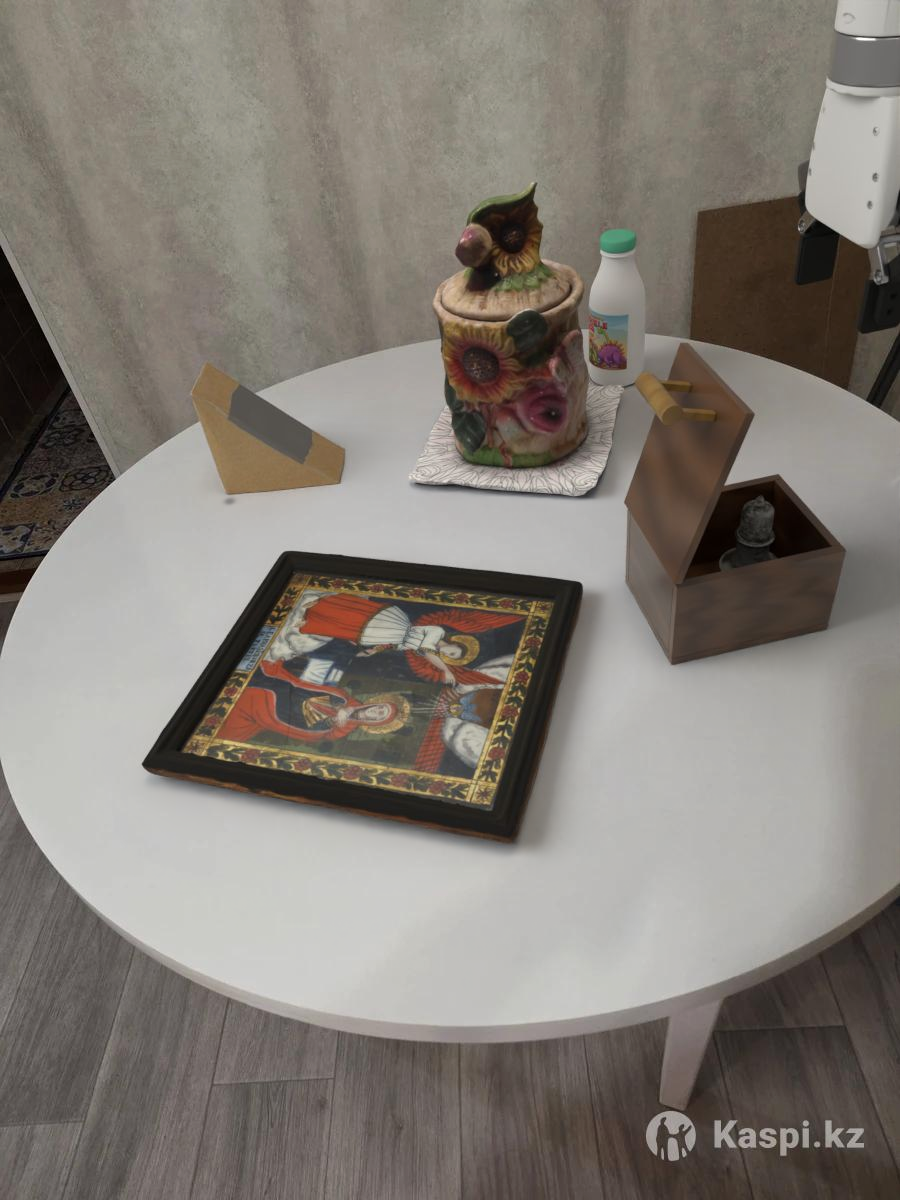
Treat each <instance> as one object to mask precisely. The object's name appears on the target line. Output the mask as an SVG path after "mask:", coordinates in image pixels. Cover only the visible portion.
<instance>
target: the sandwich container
mask: <svg viewBox="0 0 900 1200" xmlns="http://www.w3.org/2000/svg"><path fill="white" fill-rule="evenodd" d="M190 398H191V401H192V403H193V406H194V409H195V412H196V416H197V417H198V420H199V422H200V426H201V428H202V432H203V434H204V438H205V440H206V443H207V445H208V448H209V451H210V454H211V456H212V459H213V461H214V465H215V467H216V469H217V470H216V471H217V472H218V476H219V478H220V481H221V484H222V486H223V489H224V492H225V495H236V494H249V493H259V492H273V491H283V490H290V489H291V490H292V489H301V488H310V487H317V486H326V485H327V486H328V485H335V484H340V480H341V476H342V472H343V468H344V463H345V462H344V461H345V448H344V447H342V446H340V445H338V444H337V443H335V442H333V441H332V440H330V439H328V438H327V437H325V436H323V435H322V434H320V433H319V432H317V431H316V430H314V429H312V428H310V427H309V426H307V425H306V424H304V423H303V422H301V421H299V420H297V419H296V418H294V417H293V416H291V415H290V414H288V413H286V412H285V411H283V410H282V409H280V407H279V408H278V407H277V406H276V405H274V404H272V403H271V402H269V401H267V400H266V399H265V398H263V397H262V396H259V395H258V394H257V393H255V392H253V391H252V390H250V389H249V388H247V387H246V386H244V385H243V384H241V383H239V381H237V380H235V379H233V378H232V377H230V376H229V375H227V374H226V373H224V372H223V371H221V370H219V369H218V368H217V367H215V366H213V365H212V364H211V363H209V362H208V361H205V362H204V364H203V365H202V368H201V370H200V373H199V375H198V377H197V378H196V381H195V383H194V384H193V387H192V389H191V391H190Z"/></svg>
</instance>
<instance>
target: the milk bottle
mask: <svg viewBox="0 0 900 1200" xmlns="http://www.w3.org/2000/svg"><path fill="white" fill-rule="evenodd" d="M636 246H637V234H636V232H635V231H633V230H631V229H628V228H616V229H610V230H607V231H604V232H603V233H602V234H601V235H600V238H599V247H600V248H599V249H600V251H599V253H600V255H601V261H600V265H599V268H598V271H597V273H596V275H595V278H594V280H593V282H592V285H591V288H590V291H589V292H590V293H589V297H588V373H589V378H590V379H591V381H593V383H595V384H596V385H598V386H606V385H622V387H627V386H629V385H633V384H635V382H636V379H637V377H638V376H639V375H640V374H642V373H644V369H645V347H646V346H645V345H646V318H647V317H646V313H647V304H646V303H647V301H646V300H647V299H646V296H647V295H646V290H645V289H646V288H645V285H644V282H643V279H642V276H641V275H640V273H639V270H638V267H637V263H636V260H635V253H636V251H637V248H636Z"/></svg>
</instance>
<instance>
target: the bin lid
mask: <svg viewBox="0 0 900 1200" xmlns="http://www.w3.org/2000/svg"><path fill="white" fill-rule="evenodd" d="M673 360H674V361H673V363H672V365H671V368H670V372H669V374H668V377H667V379H659V378H658V377H657V375H655V373H654V372H652V371H643V373H642V374H640V375H639V376H638V377H637V379H636V382H635V383H634V384H635V388H636V390H637V391H638V392H639V394H640V395H641V396H642V397H643V399H644V400H645V401H646V403H647V404H648V405H649V407H650V408H651V409H652V411H653V412H654V413H655V414H654V417H653V419H652V422H651V424H650V427H649V430H648V433H647V436H646V439H645V441H644V444H643V448H642V450H641V453H640V456H639V458H638V460H637V464H636V467H635V470H634V472H633V475H632V478H631V481H630V484H629V487H628V490H627V492H626V496H625V498H624V501H623V503H624V505H625V507H626V509H627V508H628V510H629V512H630V513H631V515H632V516H633V518H634V520H635V521H636V523H637V525H638V526H639V528H640V530H641V531H642V533H643V534H644V536H645V538H646V539H647V541H648V543H649V544H650V546H651V547H652V549H653V551H654V552H655V554H656V556H657V557H658V559H659V561H660V562H661V564H662V565H663V567H664V569H665V570H666V572H667V574H668V575H669V577H670V579H671V580H672V582H673V583H674V584H682V582H683V579H684V577H685V575H686V573H687V570H688V568H689V566H690V563H691V561H692V559H693V556H694V554H695V552H696V550H697V547H698V545H699V543H700V540H701V538H702V536H703V533H704V531H705V529H706V526H707V524H708V522H709V520H710V517H711V515H712V513H713V510H714V508H715V506H716V503H717V501H718V499H719V496H720V494H721V492H722V490H723V487H724V486H725V485H726V483H727V481H728V478H729V476H730V474H731V471H732V468H733V466H734V464H735V462H736V459H737V457H738V455H739V453H740V450H741V448H742V445H743V443H744V441H745V439H746V437H747V434H748V432H749V429H750V427H751V425H752V423H753V420H754V418H755V416H756V414H755V412H754V411H753V410H752V409H751V408H750V407H749V406H748V405H747V403H745V401H743V399H741V398H740V396H739V395H738V394H737V393H736V392H735V391H734V390H733V389H732V388H731V387H730V386H729V384H727V383H726V381H724V378H723V379H722V377H721V376H720V375H719V374H718V373H717V372H716V371H715V370H714V368H712V366H711V365H710V364H709V363H708V362H707V361H706V360H705V359H704V358H703V357H702V356H701V355H700V354H699V353H698V352H697V351H696V350H695V349H694V348H693V346H692V345H691V344H690V343H689V342H680V343H679V346H678V348H677V351H676V354H675V357H674V359H673Z"/></svg>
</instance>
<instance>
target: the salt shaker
mask: <svg viewBox="0 0 900 1200" xmlns="http://www.w3.org/2000/svg"><path fill="white" fill-rule="evenodd" d="M773 519H774V508H773V506H772V505H771V504H770V503H769V502H767V501H764V498H763V497H762V496H761V495H760V496H758V497H757V498H756V500H752V501H750V502H748V503H746V504H745V505H744V507H743V510H742V515H741V523H740V527H738V528H737V529H736V531H735V537H736V539H737V546H736V548H734V549H731V550H729V551H727V552H725V553H724V554H723V555H722V556H721V558H720V561H719V568H720V571H725V570H729V569H734V568H738V567H743V566H747V565H752V564H756V563H761V562H765V561H770V560H774V559H778V558H777V557H776V556H775V555H774V554H772V553H770V552H769V548H770V544H771V543H772V542H773V541H774V538H775V534H774V532H773V531H772V525H773Z"/></svg>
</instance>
